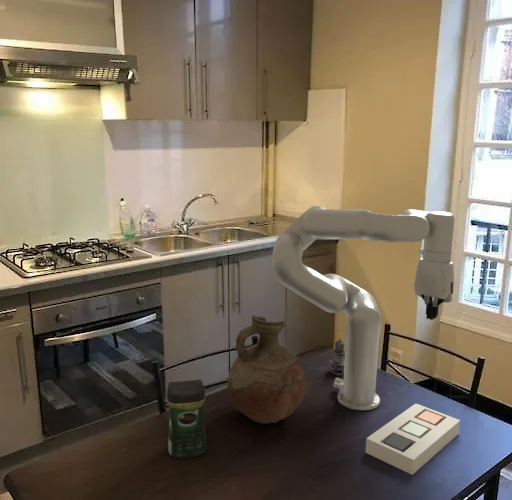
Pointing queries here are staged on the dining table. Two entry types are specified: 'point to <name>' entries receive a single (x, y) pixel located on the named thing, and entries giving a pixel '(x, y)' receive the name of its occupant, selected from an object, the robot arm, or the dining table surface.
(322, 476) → the dining table surface
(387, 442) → the charcoal button
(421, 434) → the sage button
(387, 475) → the dining table surface
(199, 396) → the coffee jar
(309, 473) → the dining table surface
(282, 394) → the jug
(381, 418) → the dining table surface
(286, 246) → the robot arm
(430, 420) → the terracotta button
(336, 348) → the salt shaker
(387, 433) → the button panel
